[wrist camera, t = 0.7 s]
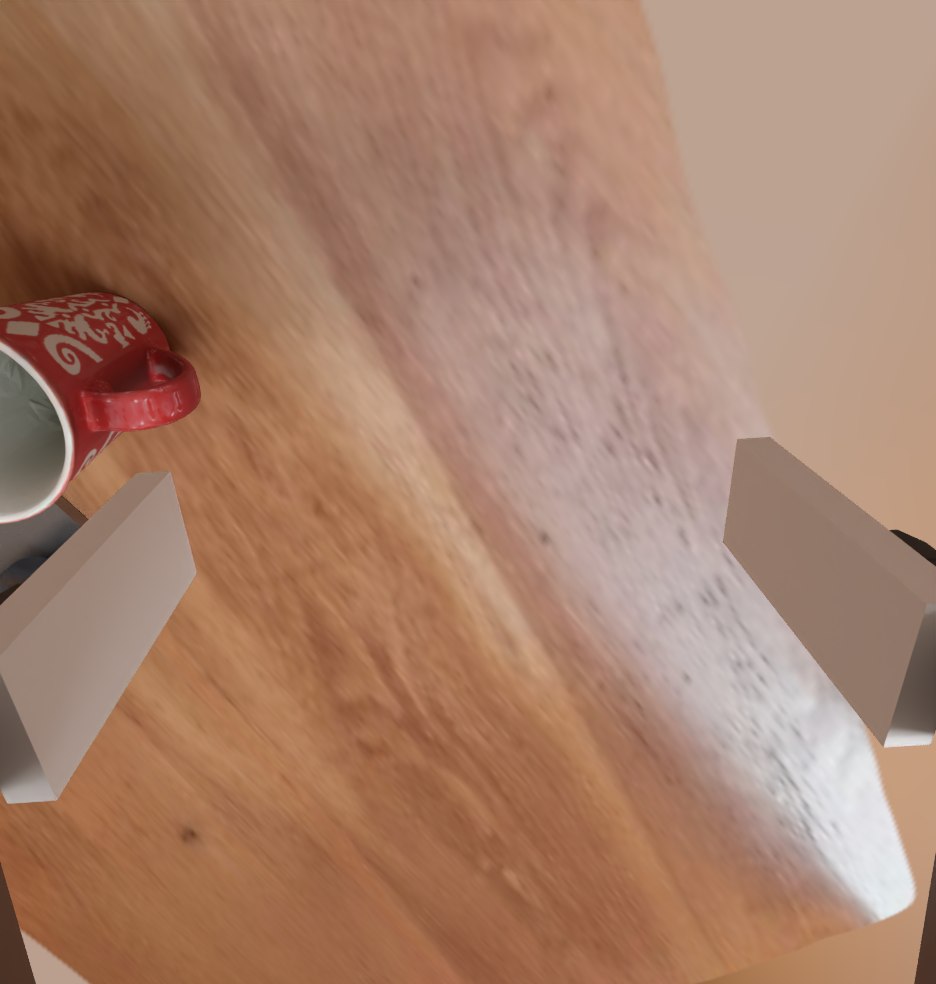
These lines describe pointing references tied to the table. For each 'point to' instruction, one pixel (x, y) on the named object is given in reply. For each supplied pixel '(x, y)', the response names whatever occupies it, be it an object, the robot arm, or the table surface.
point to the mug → (78, 390)
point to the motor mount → (35, 541)
